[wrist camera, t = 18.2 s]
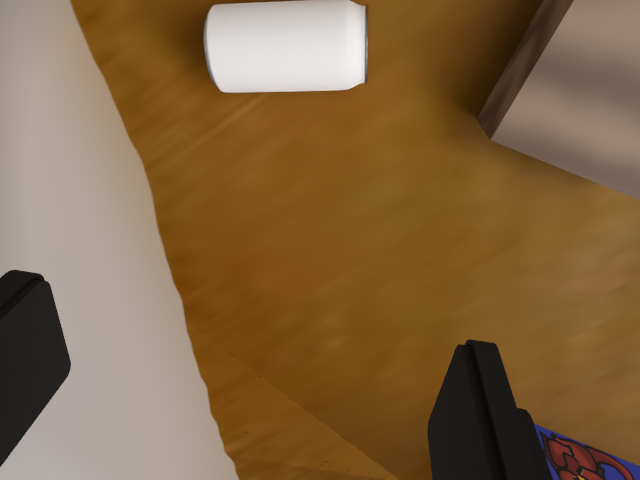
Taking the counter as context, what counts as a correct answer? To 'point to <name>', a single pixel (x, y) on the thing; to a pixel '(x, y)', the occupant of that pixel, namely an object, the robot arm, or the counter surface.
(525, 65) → the walnut block
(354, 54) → the can
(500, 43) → the counter surface
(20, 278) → the robot arm
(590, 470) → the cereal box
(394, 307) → the counter surface
